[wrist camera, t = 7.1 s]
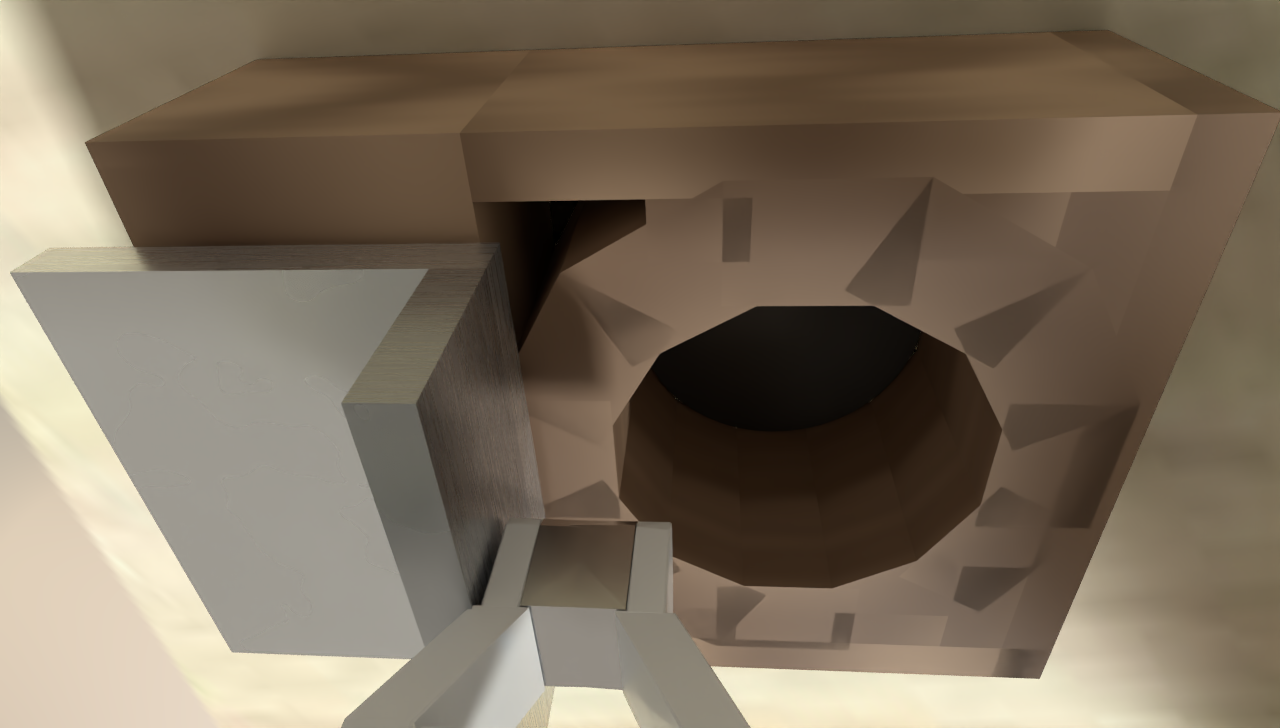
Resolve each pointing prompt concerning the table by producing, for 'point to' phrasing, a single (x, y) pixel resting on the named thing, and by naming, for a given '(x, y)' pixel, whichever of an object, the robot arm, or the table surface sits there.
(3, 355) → the table surface
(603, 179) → the socket block
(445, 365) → the panel
